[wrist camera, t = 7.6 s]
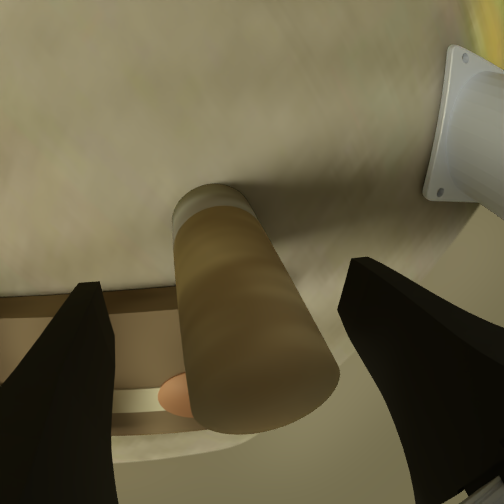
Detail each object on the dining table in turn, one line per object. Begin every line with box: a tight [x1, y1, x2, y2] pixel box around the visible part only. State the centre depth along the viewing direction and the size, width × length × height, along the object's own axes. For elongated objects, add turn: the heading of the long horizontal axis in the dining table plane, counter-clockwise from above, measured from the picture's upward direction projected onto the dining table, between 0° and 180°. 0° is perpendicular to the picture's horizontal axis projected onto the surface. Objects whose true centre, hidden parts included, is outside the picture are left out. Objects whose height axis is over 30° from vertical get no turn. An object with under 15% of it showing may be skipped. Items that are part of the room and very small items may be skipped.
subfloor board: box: [0, 286, 207, 436], centre depth 15 cm, size 16×11×2 cm
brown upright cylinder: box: [172, 184, 340, 435], centre depth 10 cm, size 3×3×8 cm
